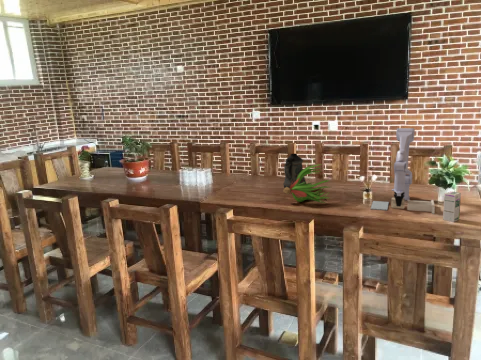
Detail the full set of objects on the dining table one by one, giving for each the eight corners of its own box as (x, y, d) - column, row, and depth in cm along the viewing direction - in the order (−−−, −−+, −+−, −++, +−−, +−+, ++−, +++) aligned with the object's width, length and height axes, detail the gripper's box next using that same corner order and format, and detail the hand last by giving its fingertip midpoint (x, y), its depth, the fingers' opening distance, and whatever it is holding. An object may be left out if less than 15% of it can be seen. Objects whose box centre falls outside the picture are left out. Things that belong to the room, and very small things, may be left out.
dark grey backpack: (306, 185, 290) (306, 151, 285) (306, 191, 272) (306, 156, 266) (284, 185, 293) (283, 152, 288) (282, 191, 275) (281, 156, 269)
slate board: (373, 201, 241) (373, 200, 241) (388, 202, 238) (388, 201, 237) (370, 209, 227) (370, 208, 227) (387, 210, 223) (387, 209, 223)
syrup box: (453, 222, 200) (456, 194, 197) (442, 219, 204) (444, 192, 201) (459, 219, 203) (461, 192, 200) (447, 217, 208) (449, 190, 205)
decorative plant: (280, 207, 256) (322, 200, 263) (295, 210, 232) (340, 202, 239) (275, 168, 255) (317, 162, 263) (289, 167, 231) (335, 160, 238)
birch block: (391, 205, 232) (391, 197, 231) (404, 206, 229) (404, 198, 228) (391, 207, 228) (391, 199, 227) (404, 208, 225) (404, 200, 224)
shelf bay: (407, 204, 233) (407, 198, 233) (433, 205, 228) (433, 200, 227) (407, 211, 219) (407, 205, 218) (434, 213, 214) (434, 207, 213)
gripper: (392, 179, 233) (391, 201, 236) (391, 184, 220) (390, 207, 223) (405, 179, 230) (404, 201, 233) (405, 185, 217) (404, 208, 220)
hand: (398, 205), depth 228 cm, fingers closed on birch block, 4 cm apart
